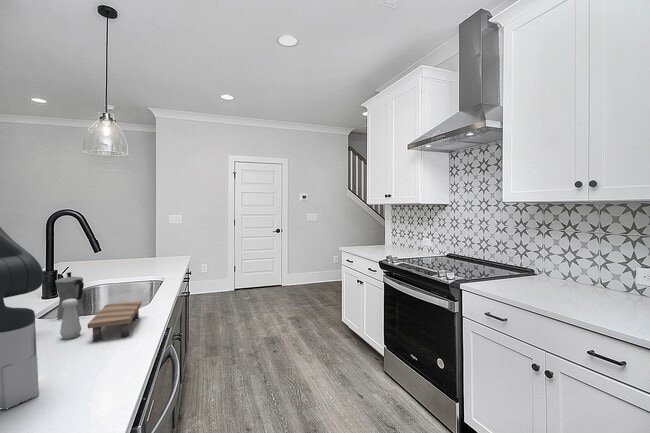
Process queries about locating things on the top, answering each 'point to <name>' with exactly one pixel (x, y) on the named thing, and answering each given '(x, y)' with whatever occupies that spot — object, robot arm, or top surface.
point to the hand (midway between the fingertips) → (41, 283)
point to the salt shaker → (70, 320)
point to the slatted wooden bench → (115, 318)
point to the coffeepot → (70, 293)
